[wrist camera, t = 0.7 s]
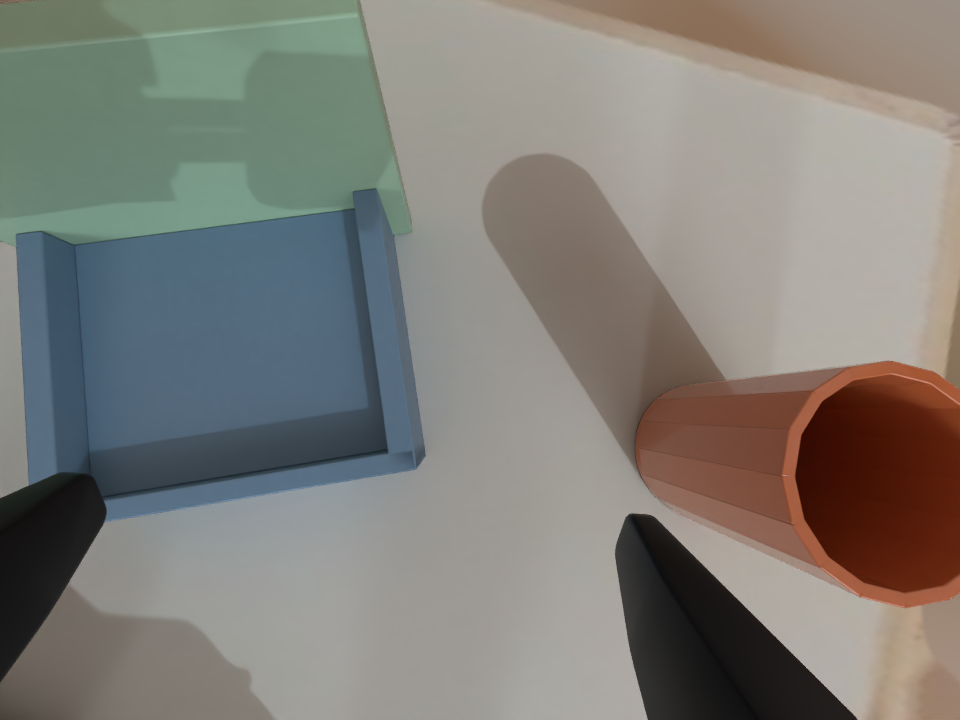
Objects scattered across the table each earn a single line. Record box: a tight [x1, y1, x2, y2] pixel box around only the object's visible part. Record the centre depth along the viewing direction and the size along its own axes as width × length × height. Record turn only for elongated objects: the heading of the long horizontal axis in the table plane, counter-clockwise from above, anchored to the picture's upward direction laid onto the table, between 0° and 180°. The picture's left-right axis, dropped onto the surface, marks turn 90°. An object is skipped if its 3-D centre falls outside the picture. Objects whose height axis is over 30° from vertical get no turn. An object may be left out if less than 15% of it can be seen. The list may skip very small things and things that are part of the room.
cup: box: [635, 361, 960, 608], centre depth 18 cm, size 7×7×10 cm
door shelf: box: [0, 0, 426, 522], centre depth 16 cm, size 13×16×13 cm
